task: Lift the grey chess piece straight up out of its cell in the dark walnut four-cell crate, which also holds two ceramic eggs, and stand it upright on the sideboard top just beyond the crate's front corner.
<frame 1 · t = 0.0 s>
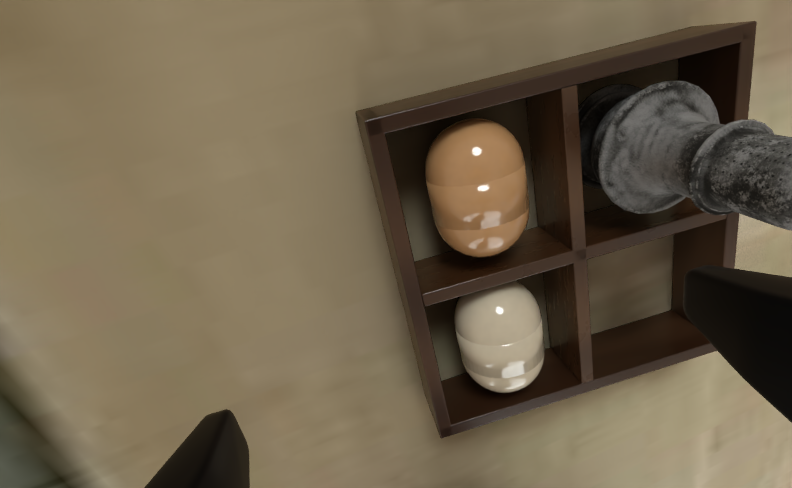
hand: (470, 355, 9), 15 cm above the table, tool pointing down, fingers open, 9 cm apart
grey chess piece: (609, 137, 24), resting in crate
brown egg: (462, 178, 23), resting in crate
crate: (544, 230, 25), on the table
cream egg: (484, 313, 26), resting in crate
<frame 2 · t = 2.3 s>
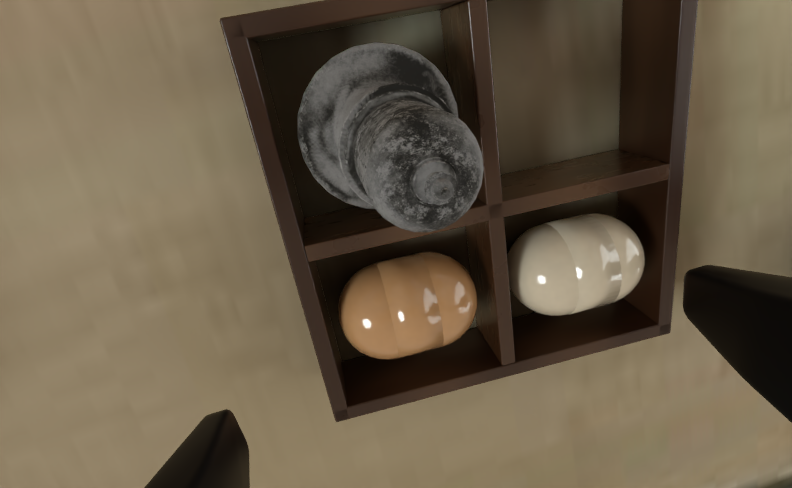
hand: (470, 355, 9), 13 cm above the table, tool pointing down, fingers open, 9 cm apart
grey chess piece: (367, 118, 20), resting in crate
brown egg: (398, 283, 23), resting in crate
crate: (467, 189, 22), on the table
cream egg: (550, 246, 24), resting in crate
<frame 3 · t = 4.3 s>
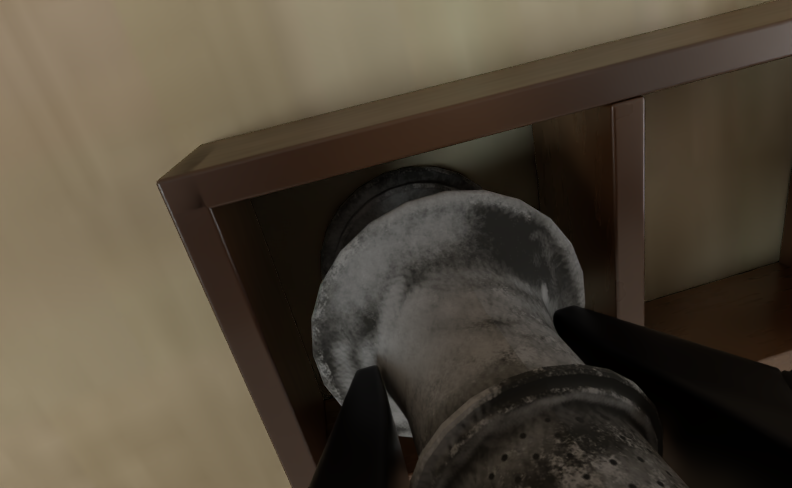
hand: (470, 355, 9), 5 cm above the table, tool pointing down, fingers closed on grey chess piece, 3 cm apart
grey chess piece: (415, 257, 13), resting in crate, touching gripper
crate: (561, 336, 15), on the table
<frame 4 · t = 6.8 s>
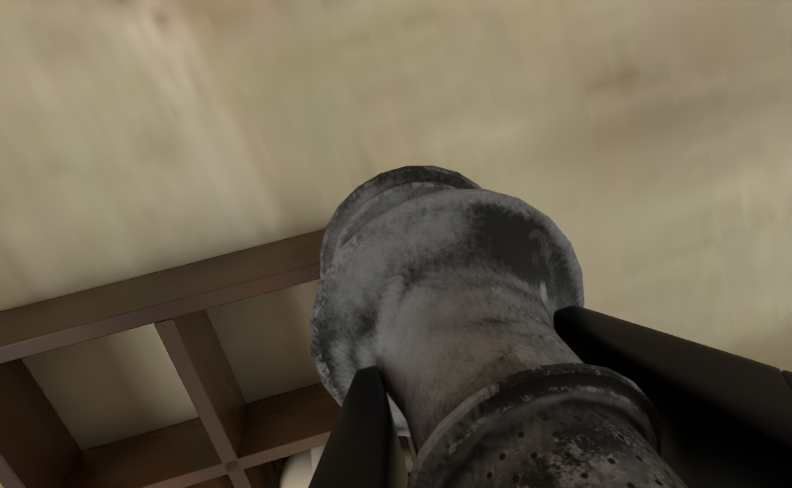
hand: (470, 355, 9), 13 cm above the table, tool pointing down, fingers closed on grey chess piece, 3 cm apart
grey chess piece: (414, 256, 13), point 8 cm above the table, touching gripper
crate: (241, 411, 23), on the table
cream egg: (338, 444, 26), resting in crate
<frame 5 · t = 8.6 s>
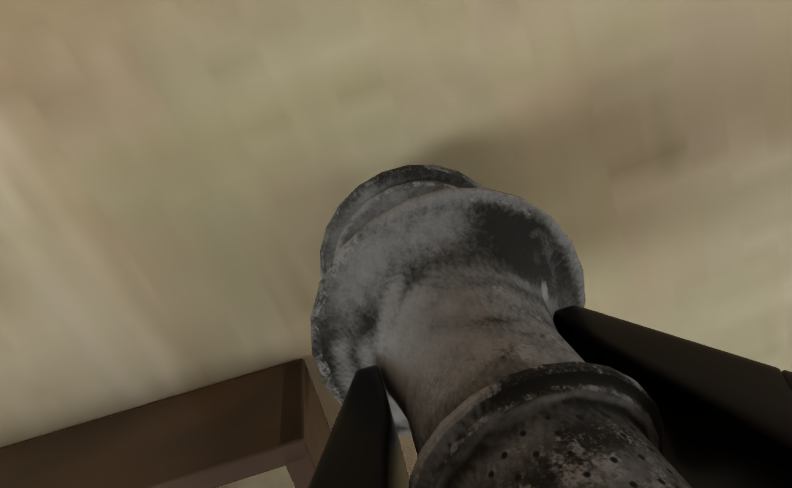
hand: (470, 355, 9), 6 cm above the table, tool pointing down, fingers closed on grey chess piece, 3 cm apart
grey chess piece: (414, 255, 13), point 1 cm above the table, touching gripper
when the fingers open (4 cm above the table, at t = 9.4 s): grey chess piece stays where it is, on the table.
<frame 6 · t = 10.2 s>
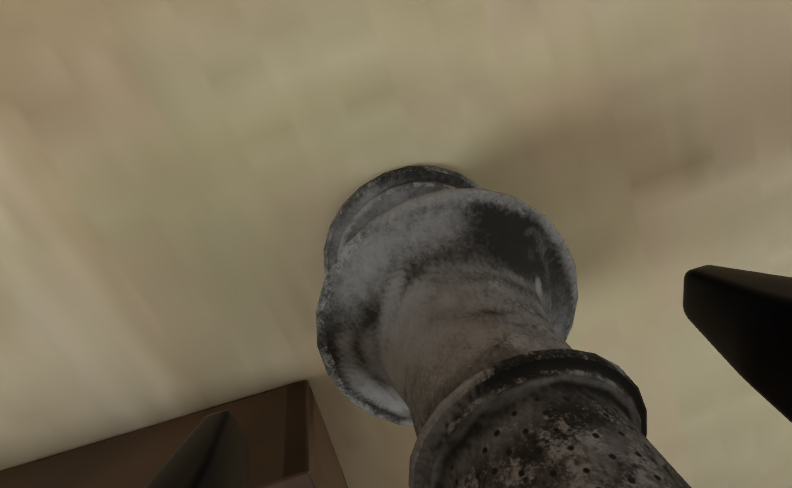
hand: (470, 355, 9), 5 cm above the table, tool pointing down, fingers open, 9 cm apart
grey chess piece: (415, 253, 13), on the table
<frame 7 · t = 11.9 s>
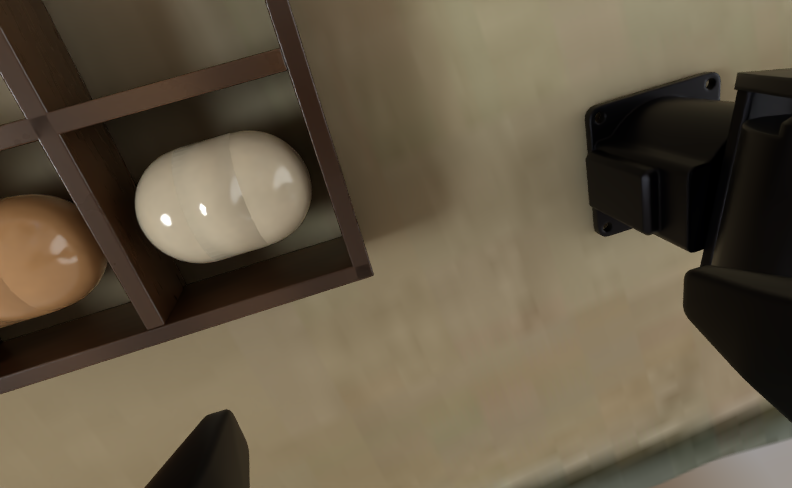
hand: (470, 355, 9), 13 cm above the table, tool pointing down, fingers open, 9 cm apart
brown egg: (42, 240, 19), resting in crate
crate: (90, 114, 18), on the table
cream egg: (235, 183, 19), resting in crate
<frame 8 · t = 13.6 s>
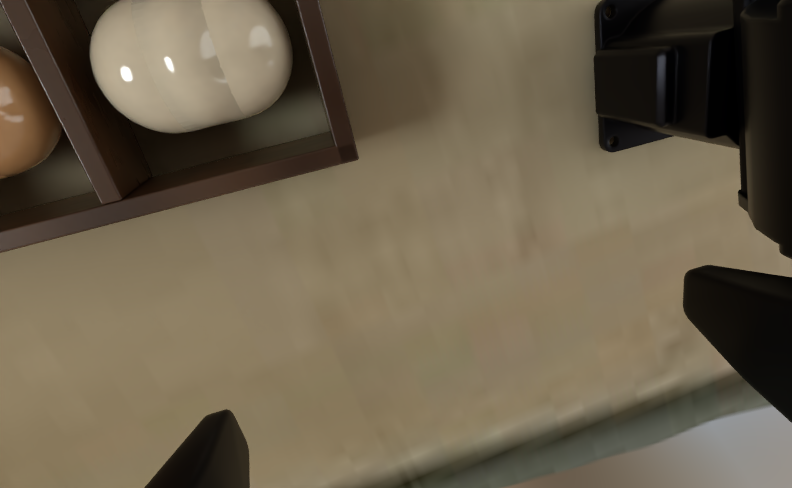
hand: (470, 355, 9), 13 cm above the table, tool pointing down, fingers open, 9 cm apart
cream egg: (209, 59, 18), resting in crate
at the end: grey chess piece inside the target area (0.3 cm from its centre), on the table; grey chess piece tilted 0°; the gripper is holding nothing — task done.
